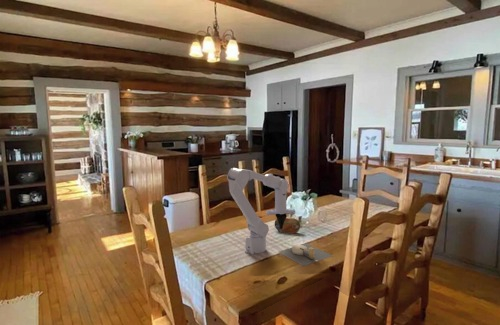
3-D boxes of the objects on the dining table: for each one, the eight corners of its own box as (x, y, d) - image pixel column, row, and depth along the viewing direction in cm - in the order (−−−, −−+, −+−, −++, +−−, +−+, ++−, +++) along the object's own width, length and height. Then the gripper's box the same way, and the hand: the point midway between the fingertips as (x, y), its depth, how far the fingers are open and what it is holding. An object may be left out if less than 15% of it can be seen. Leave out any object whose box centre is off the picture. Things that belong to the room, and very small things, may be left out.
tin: (274, 230, 177) (274, 216, 176) (276, 229, 180) (276, 215, 179) (299, 234, 170) (299, 220, 169) (300, 232, 173) (300, 218, 172)
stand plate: (304, 269, 129) (304, 265, 129) (277, 254, 144) (277, 251, 144) (333, 258, 139) (333, 255, 138) (305, 246, 154) (305, 242, 154)
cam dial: (289, 250, 144) (289, 241, 143) (300, 247, 147) (300, 238, 147) (307, 261, 133) (307, 251, 132) (319, 257, 136) (319, 247, 135)
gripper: (267, 204, 147) (267, 231, 149) (296, 203, 148) (296, 230, 150) (265, 200, 154) (266, 226, 156) (293, 200, 155) (293, 225, 157)
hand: (280, 228), depth 153 cm, fingers closed
